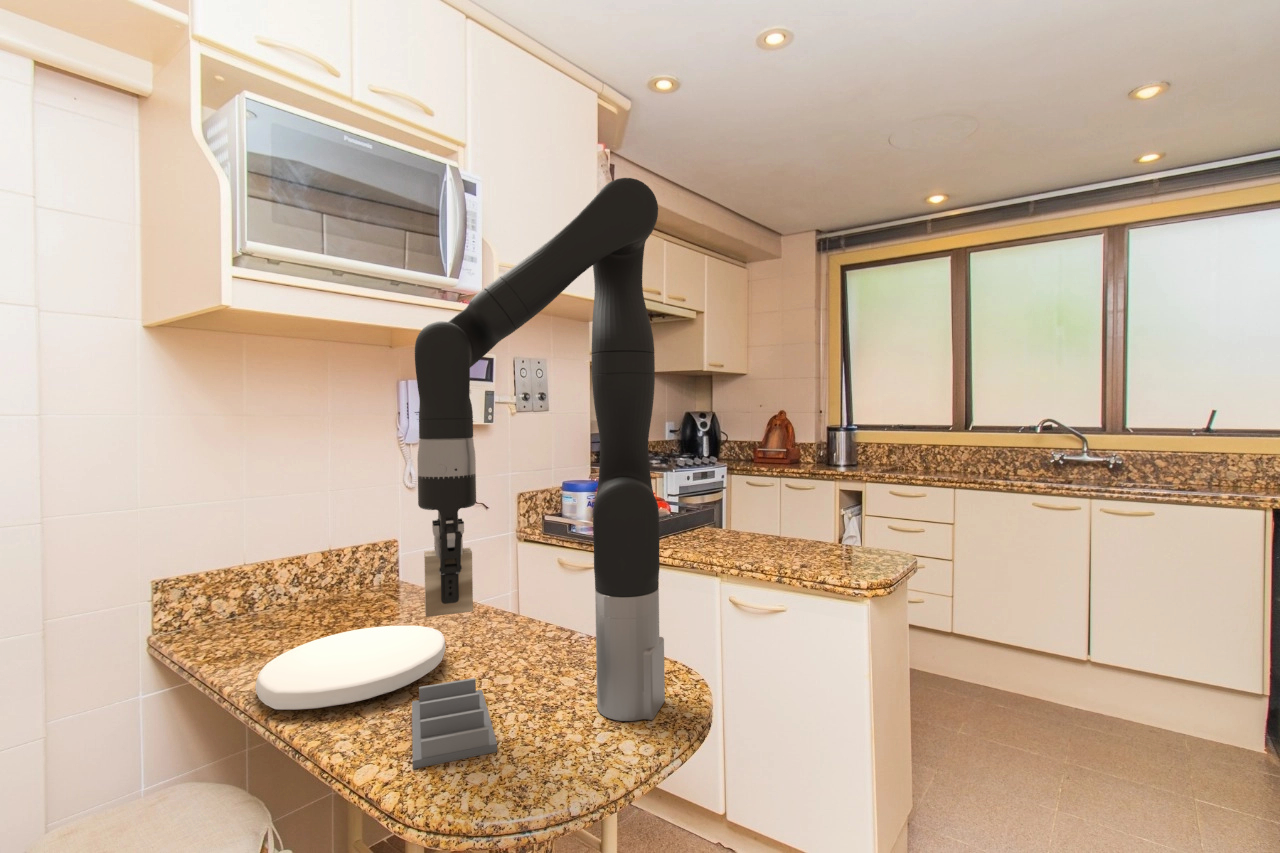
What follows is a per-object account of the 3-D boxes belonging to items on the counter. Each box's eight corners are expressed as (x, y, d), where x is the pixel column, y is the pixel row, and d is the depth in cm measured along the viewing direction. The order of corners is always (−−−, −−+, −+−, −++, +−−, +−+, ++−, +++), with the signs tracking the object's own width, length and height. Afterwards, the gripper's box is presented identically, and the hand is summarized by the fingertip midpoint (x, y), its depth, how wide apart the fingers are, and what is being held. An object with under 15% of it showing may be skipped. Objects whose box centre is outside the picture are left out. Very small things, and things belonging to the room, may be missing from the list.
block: (472, 611, 82) (472, 552, 82) (425, 617, 80) (424, 556, 80) (470, 604, 85) (469, 547, 85) (425, 609, 83) (424, 551, 83)
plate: (239, 703, 81) (265, 640, 105) (246, 750, 82) (271, 677, 106) (453, 645, 93) (433, 600, 117) (459, 686, 94) (437, 633, 118)
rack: (497, 751, 77) (496, 728, 77) (412, 769, 73) (412, 744, 73) (482, 696, 92) (481, 676, 92) (412, 708, 89) (411, 687, 89)
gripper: (481, 475, 77) (483, 610, 77) (470, 467, 90) (472, 582, 91) (418, 477, 75) (420, 617, 75) (417, 469, 88) (419, 588, 88)
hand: (449, 597), depth 83 cm, fingers closed on block, 3 cm apart
